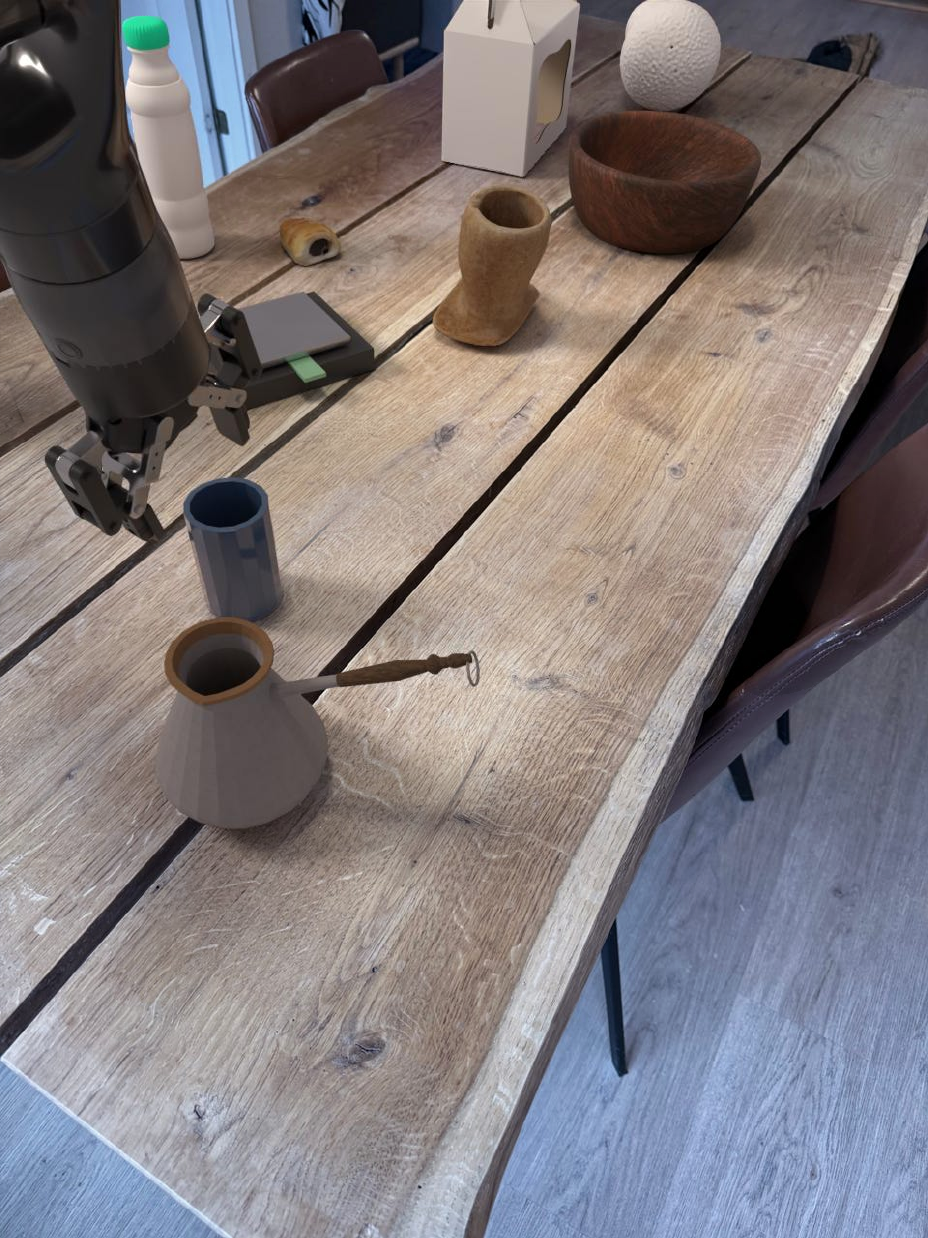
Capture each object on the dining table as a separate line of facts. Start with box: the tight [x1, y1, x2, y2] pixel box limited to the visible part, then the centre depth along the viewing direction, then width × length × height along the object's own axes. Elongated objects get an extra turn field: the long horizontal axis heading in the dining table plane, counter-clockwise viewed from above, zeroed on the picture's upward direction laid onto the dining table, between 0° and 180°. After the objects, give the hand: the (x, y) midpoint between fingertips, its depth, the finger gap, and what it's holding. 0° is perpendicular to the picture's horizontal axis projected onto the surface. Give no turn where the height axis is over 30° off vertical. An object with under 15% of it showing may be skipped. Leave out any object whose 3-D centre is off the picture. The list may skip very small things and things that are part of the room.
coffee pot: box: [154, 617, 481, 830], centre depth 58 cm, size 21×12×15 cm, turn 85°
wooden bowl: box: [567, 110, 762, 255], centre depth 122 cm, size 25×25×10 cm
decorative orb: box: [619, 0, 722, 112], centre depth 150 cm, size 20×18×16 cm
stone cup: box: [432, 183, 553, 347], centre depth 100 cm, size 15×12×15 cm
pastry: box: [278, 217, 342, 267], centre depth 115 cm, size 9×7×4 cm
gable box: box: [440, 0, 581, 178], centre depth 132 cm, size 22×13×28 cm, turn 159°
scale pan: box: [237, 291, 351, 369], centre depth 96 cm, size 12×11×1 cm
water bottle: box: [121, 15, 215, 260], centre depth 106 cm, size 7×7×25 cm
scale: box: [208, 291, 376, 411], centre depth 97 cm, size 16×16×3 cm
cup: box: [182, 476, 284, 623], centre depth 71 cm, size 6×6×10 cm
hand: (193, 483), depth 58 cm, fingers open, 8 cm apart
